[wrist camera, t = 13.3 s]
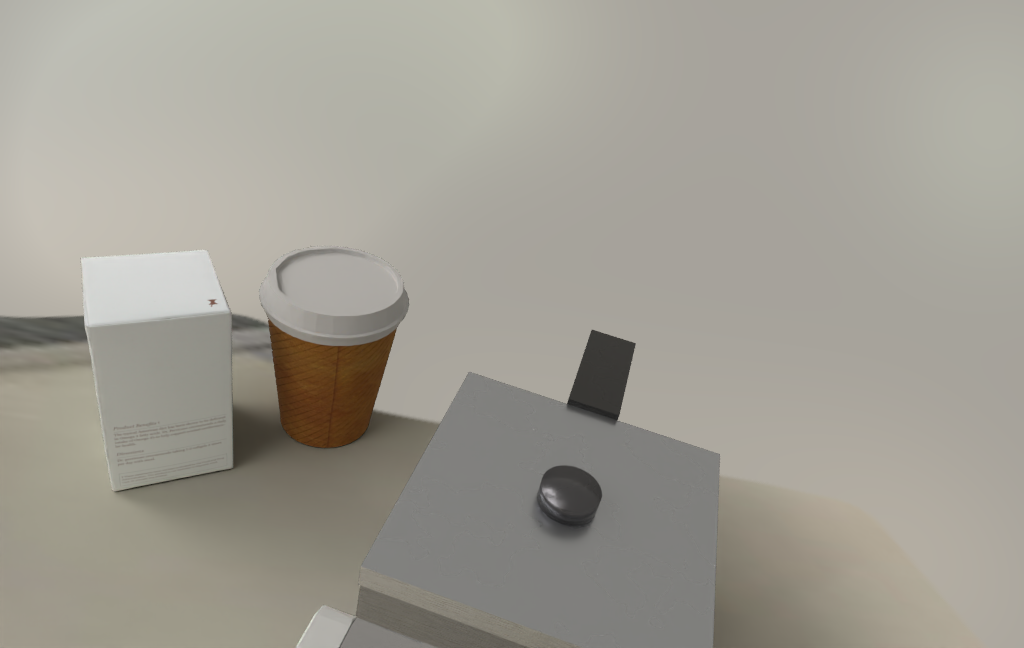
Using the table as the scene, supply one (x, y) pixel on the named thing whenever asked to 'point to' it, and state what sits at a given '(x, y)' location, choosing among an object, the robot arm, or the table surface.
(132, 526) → the table surface
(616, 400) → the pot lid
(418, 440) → the table surface
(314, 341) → the disposable coffee cup
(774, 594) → the table surface
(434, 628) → the open gray square box
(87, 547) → the table surface
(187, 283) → the supplement box
